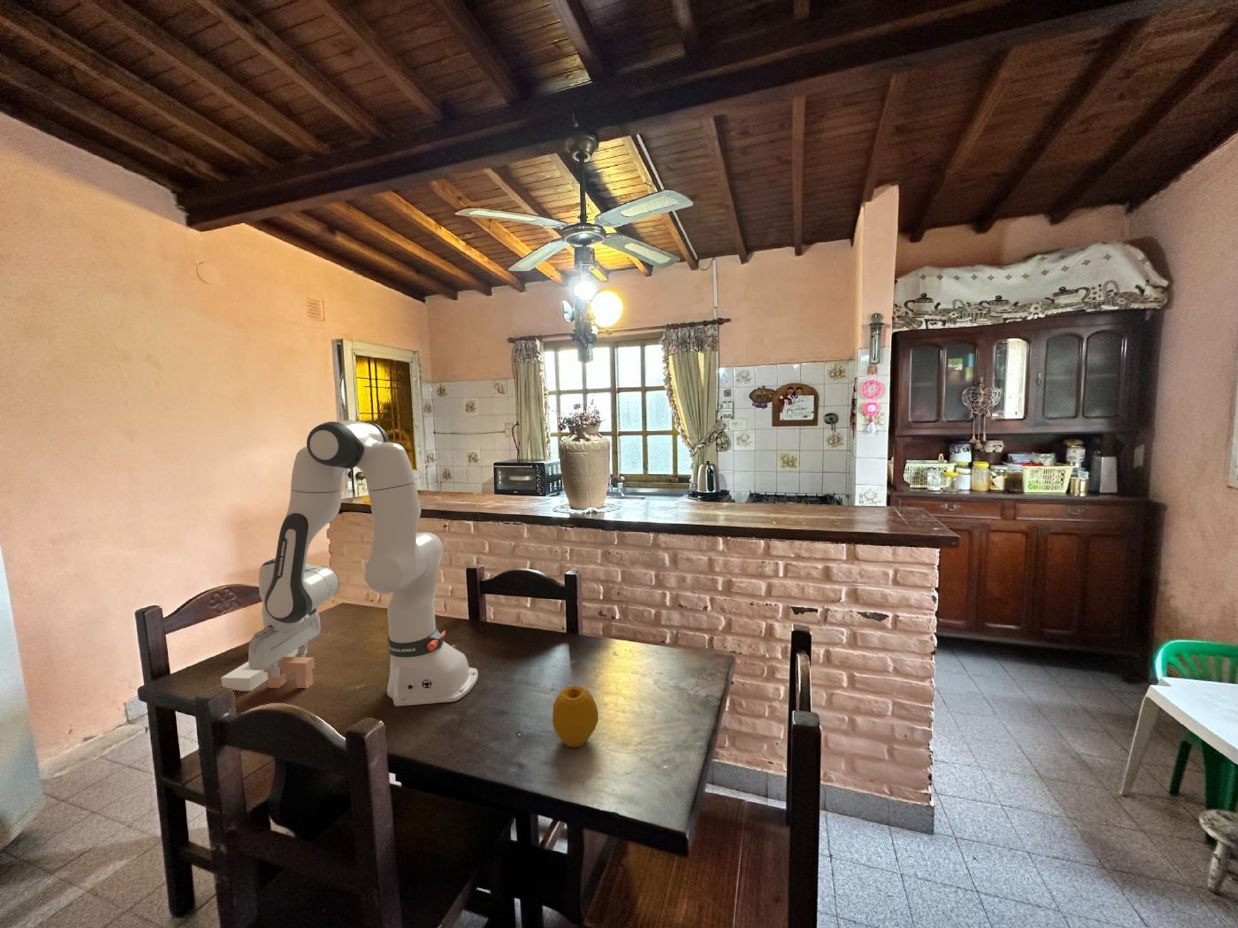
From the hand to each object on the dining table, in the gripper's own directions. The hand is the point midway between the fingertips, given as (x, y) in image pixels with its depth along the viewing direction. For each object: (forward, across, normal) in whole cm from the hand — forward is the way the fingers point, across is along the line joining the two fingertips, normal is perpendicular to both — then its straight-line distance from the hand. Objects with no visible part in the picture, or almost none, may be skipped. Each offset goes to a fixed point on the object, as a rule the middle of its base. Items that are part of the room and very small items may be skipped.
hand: (289, 667), depth 126 cm
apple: (+5, -17, -80) cm, 82 cm away
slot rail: (+5, +7, +13) cm, 16 cm away
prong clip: (+5, 0, 0) cm, 5 cm away
